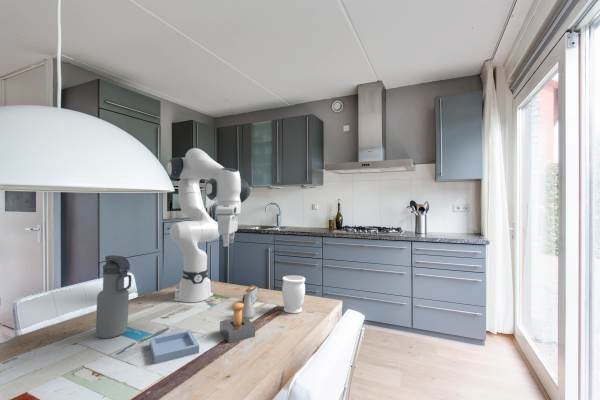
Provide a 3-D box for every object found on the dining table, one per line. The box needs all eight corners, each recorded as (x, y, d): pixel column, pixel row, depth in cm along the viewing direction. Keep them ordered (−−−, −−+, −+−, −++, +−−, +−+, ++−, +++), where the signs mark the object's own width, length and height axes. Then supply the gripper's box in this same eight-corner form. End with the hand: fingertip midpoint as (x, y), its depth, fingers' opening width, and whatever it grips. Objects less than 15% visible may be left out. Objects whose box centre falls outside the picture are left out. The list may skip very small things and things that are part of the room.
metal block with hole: (219, 331, 110) (219, 321, 110) (244, 326, 115) (244, 316, 115) (228, 343, 101) (229, 331, 101) (254, 336, 107) (255, 325, 107)
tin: (253, 299, 147) (253, 282, 147) (259, 299, 146) (259, 283, 146) (241, 310, 132) (242, 291, 132) (247, 310, 132) (248, 292, 132)
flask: (252, 320, 121) (252, 296, 121) (235, 318, 123) (236, 294, 123) (257, 313, 128) (258, 291, 128) (242, 312, 130) (243, 289, 130)
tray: (149, 345, 98) (149, 338, 98) (189, 336, 105) (190, 329, 105) (154, 364, 87) (155, 356, 87) (199, 352, 94) (199, 345, 94)
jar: (306, 307, 138) (307, 276, 138) (302, 315, 128) (303, 281, 128) (284, 305, 140) (285, 274, 140) (279, 313, 129) (280, 279, 130)
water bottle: (134, 329, 109) (137, 255, 109) (111, 341, 100) (114, 260, 100) (113, 325, 112) (115, 253, 112) (88, 336, 103) (91, 257, 103)
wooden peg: (229, 333, 109) (230, 303, 109) (240, 330, 111) (241, 302, 111) (233, 337, 105) (234, 307, 105) (244, 335, 108) (245, 305, 108)
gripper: (226, 209, 123) (226, 241, 123) (214, 209, 103) (214, 248, 102) (241, 209, 124) (241, 241, 123) (232, 209, 103) (232, 248, 103)
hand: (228, 244), depth 113 cm, fingers open, 8 cm apart
